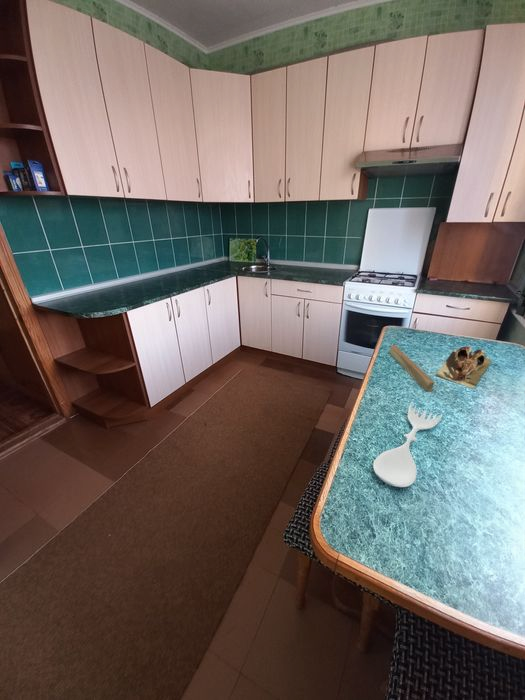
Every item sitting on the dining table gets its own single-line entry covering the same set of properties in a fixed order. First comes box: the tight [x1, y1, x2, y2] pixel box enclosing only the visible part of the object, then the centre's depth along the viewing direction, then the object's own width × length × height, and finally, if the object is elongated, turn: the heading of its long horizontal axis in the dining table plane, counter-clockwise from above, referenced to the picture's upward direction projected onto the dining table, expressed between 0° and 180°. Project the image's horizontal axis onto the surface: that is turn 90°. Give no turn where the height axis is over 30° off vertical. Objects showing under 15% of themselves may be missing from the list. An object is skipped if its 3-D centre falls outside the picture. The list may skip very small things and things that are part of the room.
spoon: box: [372, 402, 443, 488], centre depth 74 cm, size 9×32×4 cm, turn 139°
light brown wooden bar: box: [389, 344, 435, 392], centre depth 108 cm, size 2×28×4 cm, turn 3°
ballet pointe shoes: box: [435, 346, 493, 389], centre depth 109 cm, size 14×7×28 cm
